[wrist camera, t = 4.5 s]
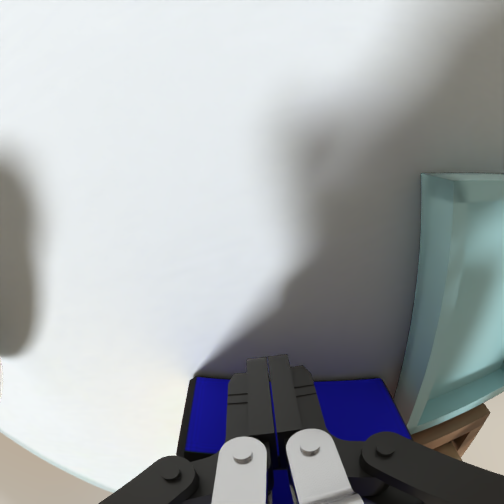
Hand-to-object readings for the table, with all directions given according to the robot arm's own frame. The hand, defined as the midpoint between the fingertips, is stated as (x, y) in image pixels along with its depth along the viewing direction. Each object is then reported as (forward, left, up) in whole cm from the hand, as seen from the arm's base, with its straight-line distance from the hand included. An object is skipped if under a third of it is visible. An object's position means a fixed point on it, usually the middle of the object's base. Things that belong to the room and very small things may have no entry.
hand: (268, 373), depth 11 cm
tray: (0, +12, -2) cm, 12 cm away
